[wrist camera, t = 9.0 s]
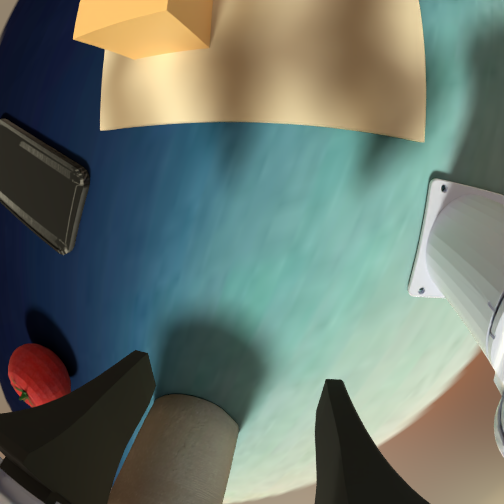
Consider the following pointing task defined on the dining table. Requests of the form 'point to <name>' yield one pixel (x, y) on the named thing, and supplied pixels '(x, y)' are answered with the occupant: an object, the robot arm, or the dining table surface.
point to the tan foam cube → (144, 26)
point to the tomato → (38, 374)
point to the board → (283, 70)
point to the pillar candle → (178, 455)
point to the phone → (41, 187)
